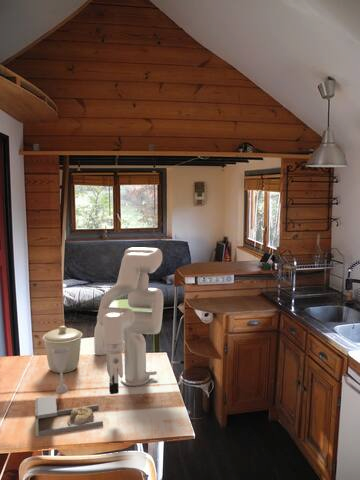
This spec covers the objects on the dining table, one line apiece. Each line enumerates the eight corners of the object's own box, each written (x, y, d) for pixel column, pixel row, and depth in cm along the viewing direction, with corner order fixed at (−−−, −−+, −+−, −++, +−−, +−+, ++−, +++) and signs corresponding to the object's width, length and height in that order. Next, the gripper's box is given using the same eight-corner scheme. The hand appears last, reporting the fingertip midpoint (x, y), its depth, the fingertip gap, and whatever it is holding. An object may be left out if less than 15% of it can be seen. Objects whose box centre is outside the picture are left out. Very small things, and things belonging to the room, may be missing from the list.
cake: (88, 412, 169) (89, 399, 169) (98, 425, 161) (99, 411, 160) (63, 418, 164) (64, 404, 163) (72, 431, 155) (73, 416, 155)
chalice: (65, 395, 181) (63, 353, 179) (50, 393, 183) (48, 352, 180) (73, 387, 189) (71, 347, 186) (58, 385, 190) (57, 346, 188)
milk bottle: (102, 356, 221) (101, 318, 218) (91, 353, 225) (90, 316, 222) (112, 351, 228) (111, 314, 225) (101, 348, 232) (100, 312, 229)
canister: (42, 379, 196) (40, 334, 193) (45, 362, 214) (43, 321, 211) (83, 374, 200) (82, 330, 198) (83, 359, 218) (81, 318, 215)
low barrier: (98, 407, 171) (98, 389, 170) (103, 425, 159) (102, 405, 158) (36, 417, 164) (35, 398, 163) (36, 436, 152) (35, 415, 151)
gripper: (127, 351, 157) (127, 400, 159) (120, 338, 171) (120, 383, 173) (106, 354, 155) (107, 403, 157) (100, 340, 169) (101, 386, 171)
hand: (114, 392), depth 165 cm, fingers closed
